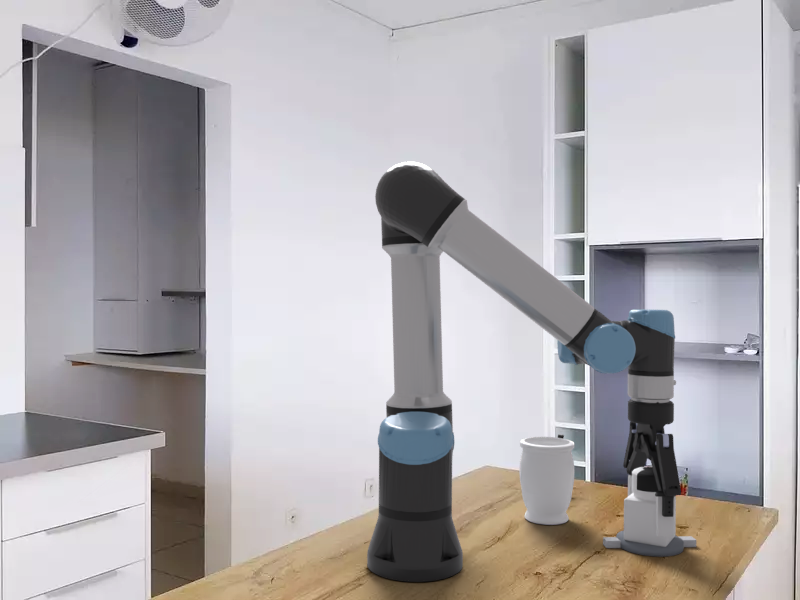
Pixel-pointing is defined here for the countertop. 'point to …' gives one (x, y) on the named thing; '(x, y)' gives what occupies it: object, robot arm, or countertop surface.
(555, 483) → the jar
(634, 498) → the medicine bottle
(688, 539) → the pad
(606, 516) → the countertop surface
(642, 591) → the countertop surface
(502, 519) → the countertop surface
